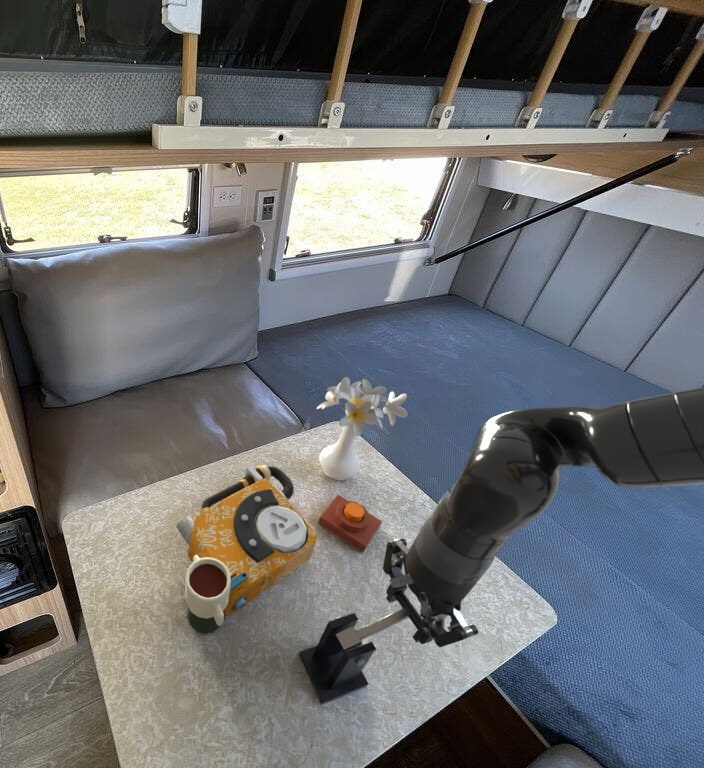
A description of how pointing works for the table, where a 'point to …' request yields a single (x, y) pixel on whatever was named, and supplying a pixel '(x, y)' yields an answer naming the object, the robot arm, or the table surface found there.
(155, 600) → the table surface
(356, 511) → the button
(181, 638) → the table surface
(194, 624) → the character mug
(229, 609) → the device
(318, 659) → the bracket
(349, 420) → the flower vase
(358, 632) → the lever
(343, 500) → the block
